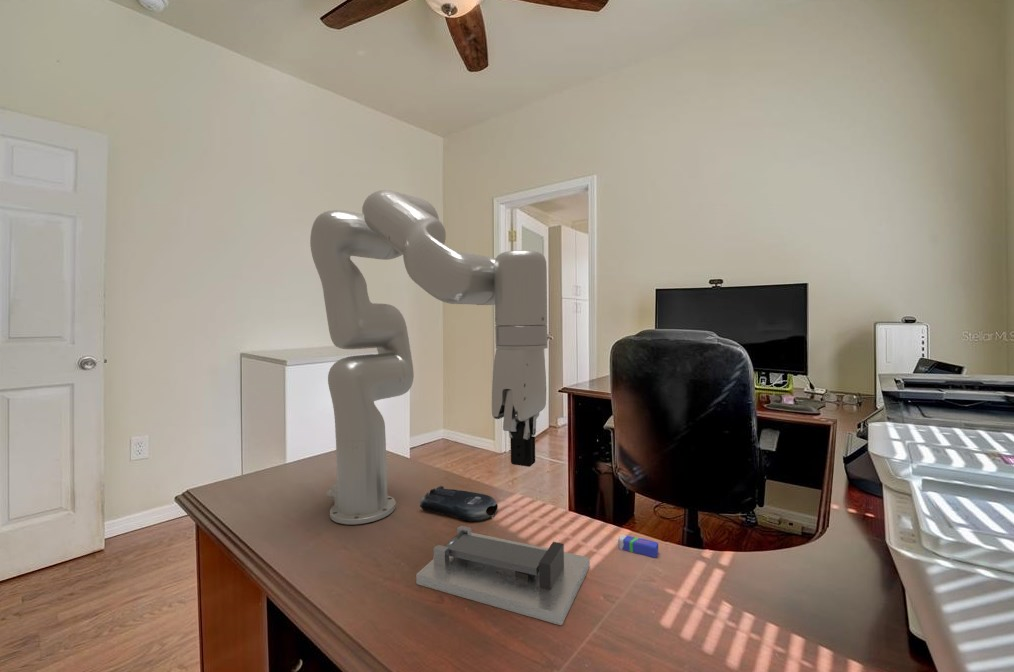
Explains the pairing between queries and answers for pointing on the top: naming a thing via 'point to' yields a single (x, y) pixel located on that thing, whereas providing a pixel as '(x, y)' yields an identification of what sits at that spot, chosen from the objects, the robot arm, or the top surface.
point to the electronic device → (458, 503)
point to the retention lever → (496, 553)
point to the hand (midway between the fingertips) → (523, 463)
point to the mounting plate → (510, 581)
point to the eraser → (638, 545)
